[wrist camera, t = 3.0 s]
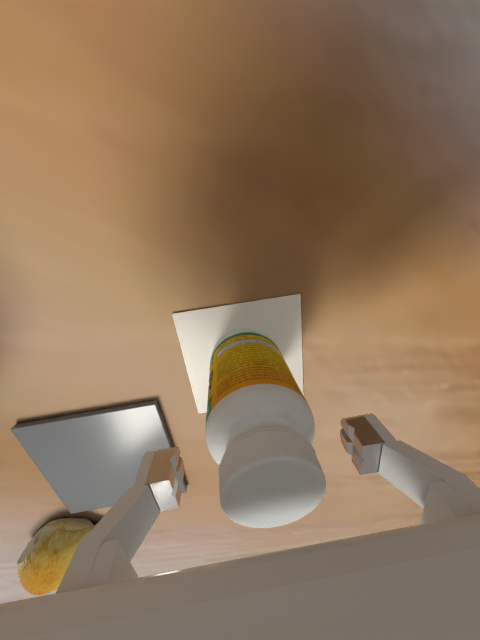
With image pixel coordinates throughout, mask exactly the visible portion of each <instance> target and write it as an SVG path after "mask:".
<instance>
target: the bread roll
mask: <svg viewBox="0 0 480 640" xmlns="http://www.w3.org/2000/svg"><path fill="white" fill-rule="evenodd" d="M96 525H97V524H96ZM96 525H93V523H92V522H91V521H90V520H88V519H85V518H74V517H71V518H63V519H57V520H53V521H51V522H49V523H47V524H46V525H45V526H44V527H42V528H41V529H40V530H39V531H38V532H37V533H36V534H35V536H34V537H33V538H32V540H31V541H30V542H29V543H28V545H27V547H26V548H25V550H24V551H23V553H22V554H21V556H20V558H19V559H18V562H17V564H18V575H19V578H20V582H21V584H22V586H23V587H24V588H25V590H27V591H28V592H29V593H31V594H33V595H43V594H46V593H49V592H51V591H53V590H55V589H58V587H59V585H60V583H61V581H62V579H63V577H64V574H65V572H66V570H67V568H68V566H69V564H70V561H71V559H72V557H73V555H74V553H75V551H76V548H77V546H78V545H79V544H80V542H81V541H82V540H83V539H84V538H85V537H86V536H87V535H88V533H89V532H90V531H91V530H92V529H93V528H94V527H95V526H96Z"/></svg>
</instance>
